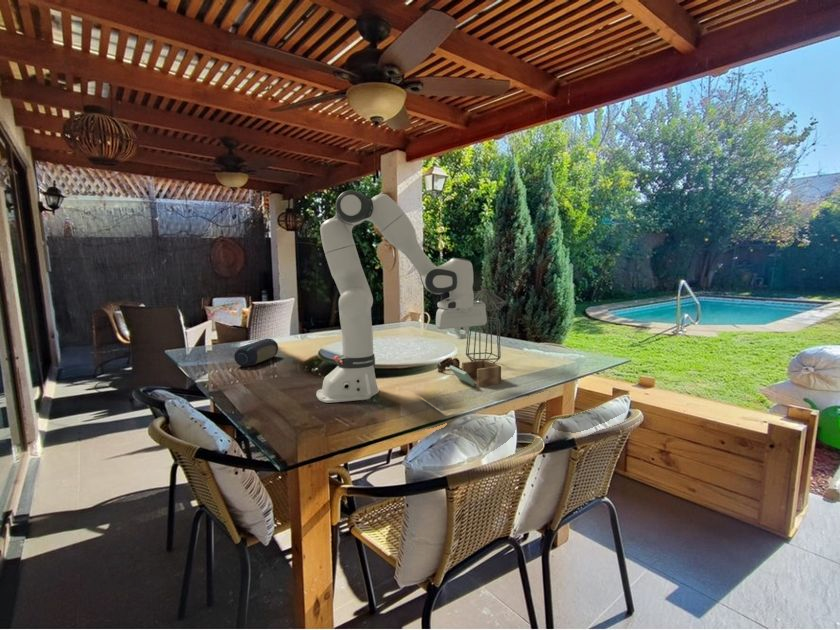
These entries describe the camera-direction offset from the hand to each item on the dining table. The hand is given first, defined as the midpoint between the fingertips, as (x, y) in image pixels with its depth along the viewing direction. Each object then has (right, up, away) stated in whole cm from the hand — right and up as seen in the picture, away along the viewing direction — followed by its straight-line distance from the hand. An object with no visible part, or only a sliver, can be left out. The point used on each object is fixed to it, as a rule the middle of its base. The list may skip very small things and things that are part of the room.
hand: (462, 338), depth 160 cm
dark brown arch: (-3, -16, +22) cm, 27 cm away
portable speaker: (-94, -14, +47) cm, 106 cm away
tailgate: (+2, -17, +3) cm, 17 cm away
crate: (+8, -18, +6) cm, 21 cm away
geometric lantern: (+13, -14, +34) cm, 40 cm away
